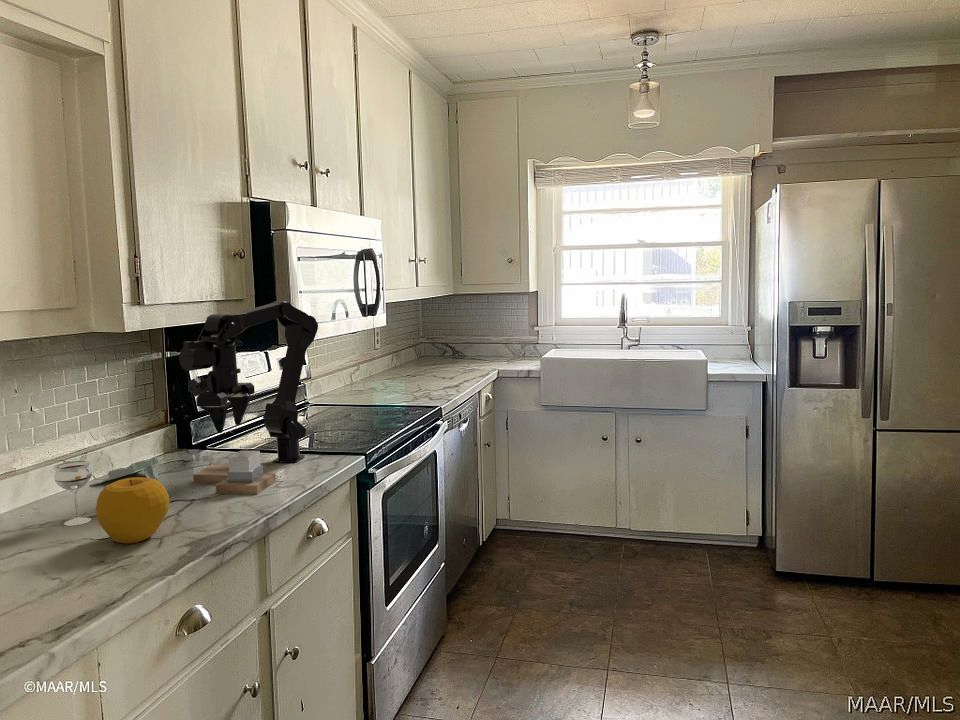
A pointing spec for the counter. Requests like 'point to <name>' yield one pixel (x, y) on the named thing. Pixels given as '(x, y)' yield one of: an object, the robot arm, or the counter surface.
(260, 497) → the counter surface
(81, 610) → the counter surface
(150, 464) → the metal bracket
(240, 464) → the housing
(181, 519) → the counter surface
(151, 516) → the apple
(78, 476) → the wineglass
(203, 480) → the stand
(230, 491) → the stand
